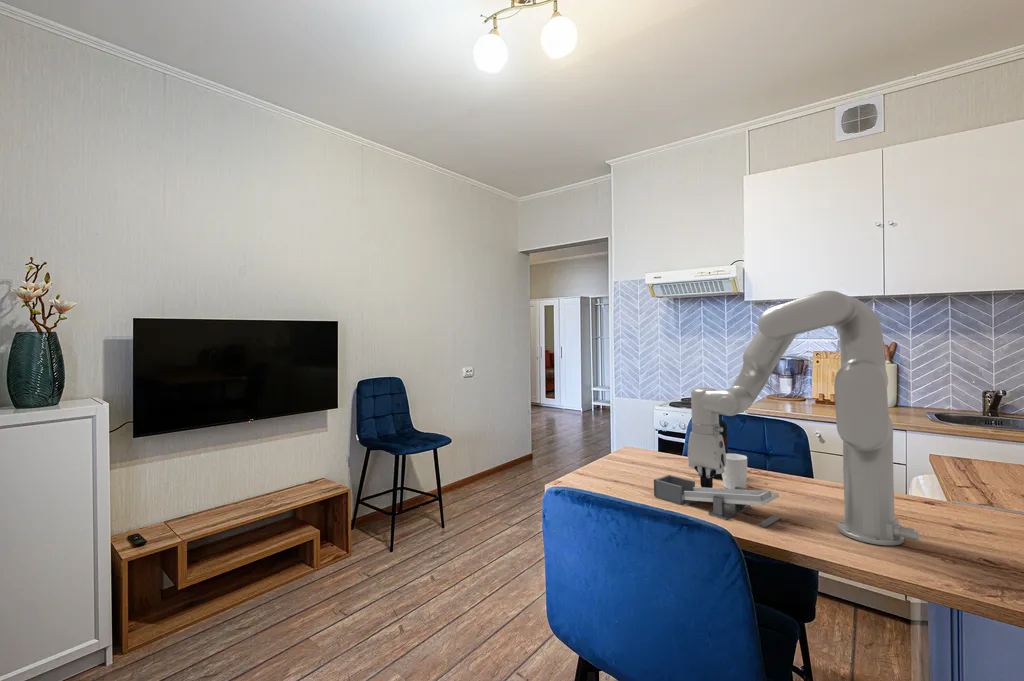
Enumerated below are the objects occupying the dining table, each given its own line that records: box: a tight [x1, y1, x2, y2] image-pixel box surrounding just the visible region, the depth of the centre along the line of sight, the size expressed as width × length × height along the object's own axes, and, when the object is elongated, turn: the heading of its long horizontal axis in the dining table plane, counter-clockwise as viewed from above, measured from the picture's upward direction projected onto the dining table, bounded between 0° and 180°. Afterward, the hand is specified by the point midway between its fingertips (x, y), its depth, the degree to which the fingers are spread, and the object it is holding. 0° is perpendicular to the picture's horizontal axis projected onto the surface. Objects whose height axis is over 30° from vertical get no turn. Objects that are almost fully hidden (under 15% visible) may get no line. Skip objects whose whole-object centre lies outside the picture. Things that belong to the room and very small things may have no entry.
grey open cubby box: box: [653, 474, 696, 506], centre depth 136 cm, size 9×8×5 cm
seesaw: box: [683, 486, 780, 507], centre depth 125 cm, size 22×10×2 cm, turn 37°
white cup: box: [722, 453, 748, 490], centre depth 145 cm, size 8×8×10 cm
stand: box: [683, 486, 782, 529], centre depth 125 cm, size 23×14×5 cm, turn 37°
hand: (706, 489), depth 134 cm, fingers closed
